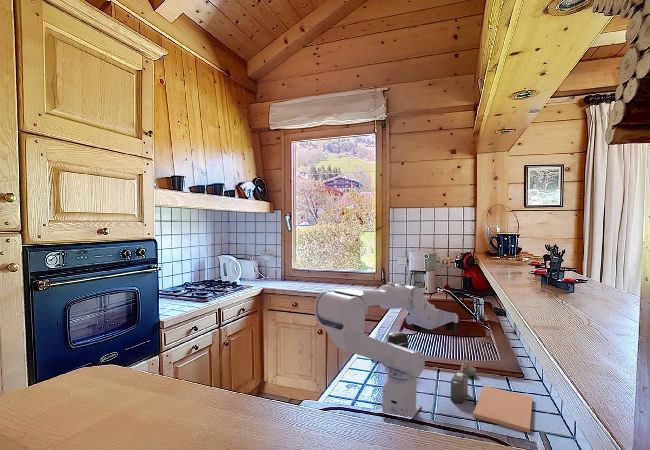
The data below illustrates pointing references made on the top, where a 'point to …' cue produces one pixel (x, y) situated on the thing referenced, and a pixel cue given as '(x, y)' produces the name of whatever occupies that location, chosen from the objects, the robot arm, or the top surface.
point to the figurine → (467, 368)
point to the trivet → (504, 408)
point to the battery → (398, 339)
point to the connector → (459, 388)
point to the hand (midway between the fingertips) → (442, 330)
